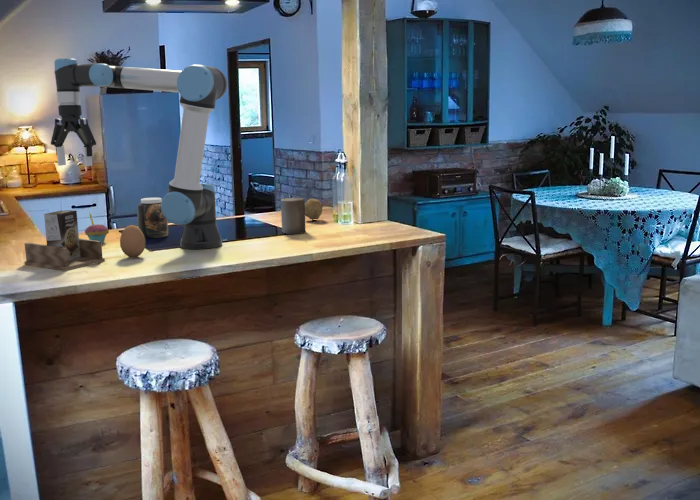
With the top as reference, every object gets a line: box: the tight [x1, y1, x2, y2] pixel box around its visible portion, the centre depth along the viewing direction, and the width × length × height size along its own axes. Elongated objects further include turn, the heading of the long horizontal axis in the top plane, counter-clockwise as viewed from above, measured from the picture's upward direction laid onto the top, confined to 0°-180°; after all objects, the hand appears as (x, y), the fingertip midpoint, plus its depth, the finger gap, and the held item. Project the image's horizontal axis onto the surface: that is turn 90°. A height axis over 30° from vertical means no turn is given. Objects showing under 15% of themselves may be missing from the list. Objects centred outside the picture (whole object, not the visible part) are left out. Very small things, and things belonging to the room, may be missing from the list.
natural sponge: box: [305, 198, 323, 220], centre depth 316 cm, size 9×9×10 cm
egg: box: [119, 224, 146, 259], centre depth 241 cm, size 8×8×11 cm
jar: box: [136, 197, 169, 239], centre depth 282 cm, size 12×12×15 cm
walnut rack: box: [23, 237, 105, 272], centre depth 234 cm, size 20×16×7 cm
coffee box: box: [43, 210, 80, 261], centre depth 233 cm, size 9×6×16 cm
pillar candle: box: [280, 196, 306, 235], centre depth 286 cm, size 10×10×15 cm
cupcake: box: [84, 212, 110, 244], centre depth 269 cm, size 9×8×12 cm
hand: (75, 165), depth 251 cm, fingers open, 13 cm apart
